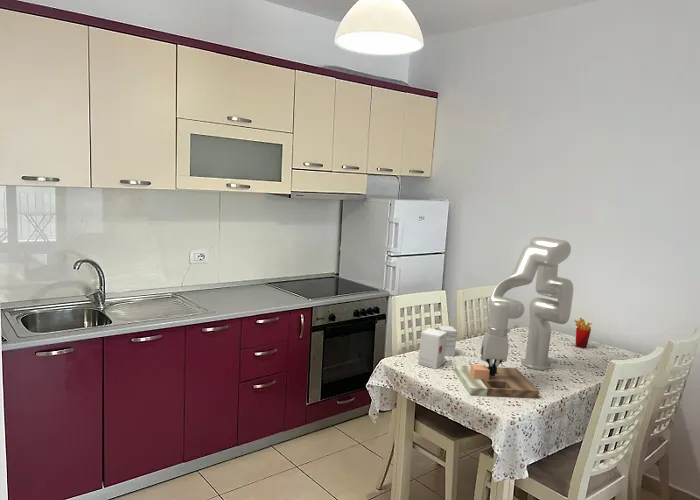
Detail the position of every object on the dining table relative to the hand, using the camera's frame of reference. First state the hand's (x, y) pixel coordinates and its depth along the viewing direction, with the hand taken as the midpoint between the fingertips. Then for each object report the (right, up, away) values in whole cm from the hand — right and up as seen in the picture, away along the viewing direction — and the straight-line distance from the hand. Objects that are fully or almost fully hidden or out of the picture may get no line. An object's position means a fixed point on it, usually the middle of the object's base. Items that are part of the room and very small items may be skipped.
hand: (491, 374), depth 211 cm
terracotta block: (-5, -1, 0) cm, 5 cm away
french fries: (+63, 0, +61) cm, 88 cm away
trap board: (+1, -4, +1) cm, 4 cm away
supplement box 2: (-13, +1, +35) cm, 37 cm away
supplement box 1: (-22, 0, +19) cm, 29 cm away
